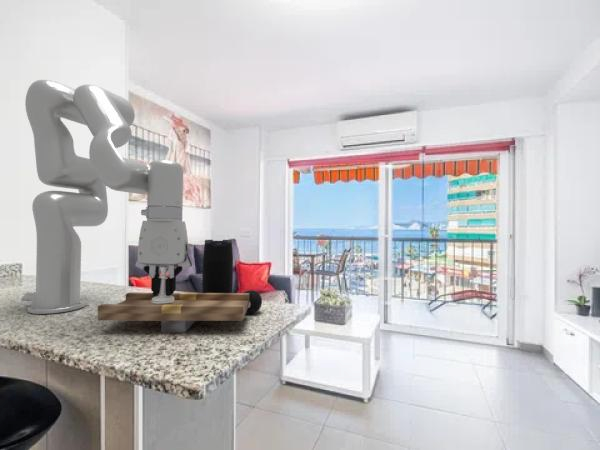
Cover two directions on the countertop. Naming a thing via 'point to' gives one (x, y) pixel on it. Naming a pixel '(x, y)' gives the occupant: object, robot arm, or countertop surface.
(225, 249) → the portable speaker
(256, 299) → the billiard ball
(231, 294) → the beam
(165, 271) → the chess piece
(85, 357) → the countertop surface
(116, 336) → the countertop surface
